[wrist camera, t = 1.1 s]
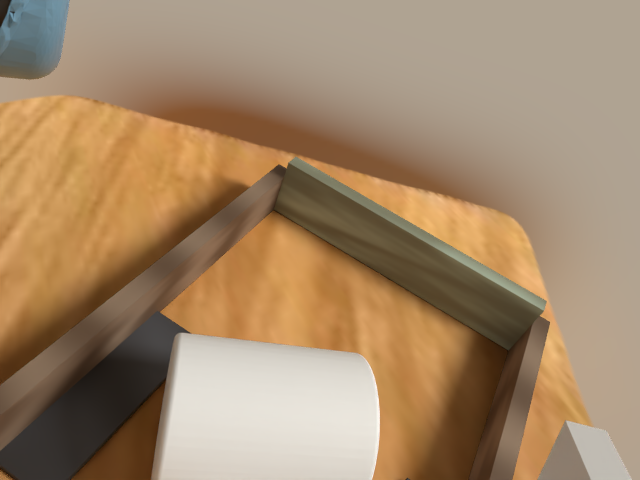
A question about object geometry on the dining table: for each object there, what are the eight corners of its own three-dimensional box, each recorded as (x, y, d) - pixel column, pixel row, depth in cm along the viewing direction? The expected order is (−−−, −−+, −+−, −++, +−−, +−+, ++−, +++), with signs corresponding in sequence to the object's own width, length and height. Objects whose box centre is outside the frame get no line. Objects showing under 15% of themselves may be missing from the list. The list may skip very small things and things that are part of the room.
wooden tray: (387, 844, 22) (443, 846, 18) (-65, 481, 26) (-85, 430, 23) (525, 348, 44) (561, 309, 41) (269, 196, 48) (283, 149, 45)
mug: (164, 384, 33) (181, 299, 28) (325, 399, 35) (368, 324, 30) (128, 627, 24) (143, 570, 19) (344, 624, 27) (409, 573, 22)
